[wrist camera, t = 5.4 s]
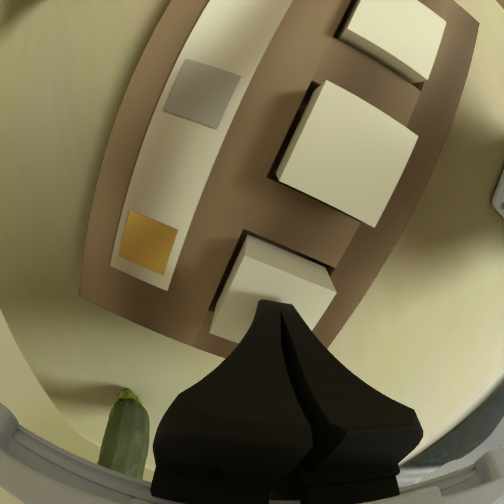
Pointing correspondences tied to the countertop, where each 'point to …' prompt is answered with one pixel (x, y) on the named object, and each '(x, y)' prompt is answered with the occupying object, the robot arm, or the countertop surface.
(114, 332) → the countertop surface
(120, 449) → the vegetable
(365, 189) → the middle button
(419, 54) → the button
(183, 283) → the button board
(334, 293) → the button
